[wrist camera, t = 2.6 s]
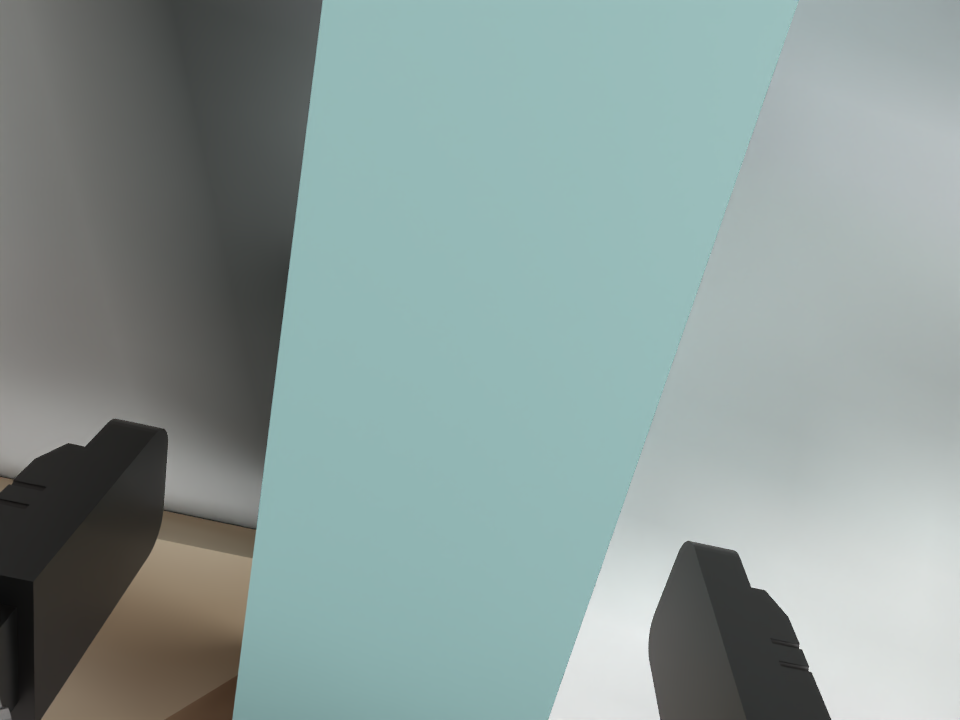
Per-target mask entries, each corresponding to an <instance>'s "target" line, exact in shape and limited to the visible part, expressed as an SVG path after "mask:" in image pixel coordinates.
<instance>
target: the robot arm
mask: <svg viewBox="0 0 960 720" xmlns="http://www.w3.org/2000/svg"><path fill="white" fill-rule="evenodd" d="M167 449H168V436H167V432H166V430H165V429H162V428H157V427H152V426H148V425H143V424H138V423H134V422H129V421H124V420H119V419H113V420H111V421H110V422H108V423H107V424H106V425H105V426H104V428H103V429H102V430H101V431H100V432H99V433H98V434H97V435H96V436H95V437H94V438H93V439H92V440H91V441H90V442H89V443H88V444H87V445H86V446H85V447H84V446H79V445H74V444H69V443H68V444H66V445H64V446H62V447H59V448H57V449H55V450H53V451H51V452H49V453H46V454H44V455H42V456H40V457H38V458H36V459H34V460H33V461H32V462H31V463H30V464H29V465H28V466H27V467H26V468H25V469H24V470H23V471H22V472H21V473H20V474H19V475H18V476H17V477H16V478H15V479H14V480H13V483H12V485H10V484H8V485H7V486H6V487H5V488H4V489H3V490H2V491H1V492H0V720H41V719H42V717H43V716H44V714H45V713H46V711H47V710H48V708H49V707H50V705H51V704H52V702H53V701H54V699H55V697H56V696H57V694H58V693H59V691H60V690H61V688H62V687H63V685H64V684H65V682H66V681H67V679H68V678H69V676H70V675H71V673H72V672H73V670H74V669H75V667H76V666H77V664H78V663H79V661H80V660H81V658H82V657H83V655H84V654H85V652H86V650H87V649H88V647H89V646H90V644H91V643H92V641H93V640H94V638H95V637H96V635H97V634H98V632H99V631H100V629H101V628H102V626H103V625H104V623H105V622H106V620H107V619H108V617H109V616H110V614H111V613H112V611H113V610H114V608H115V607H116V605H117V603H118V602H119V600H120V599H121V597H122V596H123V594H124V593H125V591H126V590H127V588H128V587H129V585H130V584H131V582H132V581H133V579H134V578H135V576H136V575H137V573H138V572H139V570H140V569H141V567H142V566H143V564H144V563H145V561H146V560H147V558H148V556H149V555H150V553H151V551H152V549H153V547H154V545H155V542H156V540H157V537H158V534H159V531H160V527H161V523H162V517H163V507H164V493H165V478H166V463H167ZM649 661H650V666H651V671H652V677H653V682H654V688H655V693H656V698H657V704H658V709H659V714H660V720H831V718H830V716H829V713H828V711H827V708H826V706H825V704H824V701H823V699H822V696H821V694H820V692H819V689H818V687H817V685H816V682H815V680H814V677H813V675H812V673H811V672H809V671H808V668H809V665H808V663H807V661H806V658H805V656H804V654H803V651H802V650H801V649H799V642H798V639H797V637H796V634H795V632H794V630H793V627H792V625H791V622H790V620H789V618H788V616H787V615H786V614H785V613H784V612H783V610H782V609H781V608H780V607H779V606H778V605H777V604H776V602H775V601H774V600H773V599H772V598H771V597H770V596H769V594H768V593H767V592H766V591H765V590H760V589H756V588H751V586H750V583H749V581H748V578H747V575H746V573H745V570H744V567H743V565H742V562H741V559H740V557H739V555H738V553H737V552H736V551H734V550H729V549H724V548H720V547H715V546H710V545H705V544H701V543H696V542H691V541H687V542H685V543H684V544H683V545H682V547H681V548H680V550H679V553H678V555H677V558H676V560H675V563H674V565H673V568H672V570H671V573H670V575H669V578H668V581H667V583H666V586H665V588H664V591H663V593H662V596H661V598H660V601H659V604H658V606H657V609H656V611H655V614H654V617H653V620H652V623H651V628H650V634H649Z"/></svg>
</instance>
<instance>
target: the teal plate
mask: <svg viewBox="0 0 960 720" xmlns="http://www.w3.org/2000/svg"><path fill="white" fill-rule="evenodd" d="M798 1H799V0H323V3H322V11H321V19H320V27H319V35H318V43H317V50H316V58H315V66H314V74H313V82H312V90H311V98H310V106H309V114H308V122H307V130H306V138H305V146H304V154H303V162H302V170H301V178H300V186H299V194H298V202H297V210H296V218H295V226H294V233H293V241H292V249H291V257H290V265H289V273H288V281H287V289H286V297H285V305H284V313H283V321H282V329H281V337H280V345H279V353H278V361H277V369H276V377H275V385H274V393H273V401H272V408H271V416H270V424H269V432H268V440H267V448H266V456H265V464H264V472H263V480H262V488H261V496H260V504H259V512H258V520H257V528H256V536H255V544H254V552H253V560H252V568H251V576H250V584H249V591H248V599H247V607H246V615H245V623H244V631H243V639H242V647H241V655H240V663H239V671H238V679H237V687H236V695H235V703H234V711H233V719H232V720H548V718H549V715H550V712H551V710H552V707H553V704H554V701H555V698H556V695H557V692H558V690H559V687H560V684H561V681H562V678H563V675H564V672H565V669H566V667H567V664H568V661H569V658H570V655H571V652H572V649H573V646H574V644H575V641H576V638H577V635H578V632H579V629H580V626H581V624H582V621H583V618H584V615H585V612H586V609H587V606H588V603H589V601H590V598H591V595H592V592H593V589H594V586H595V583H596V581H597V578H598V575H599V572H600V569H601V566H602V563H603V560H604V558H605V555H606V552H607V549H608V546H609V543H610V540H611V538H612V535H613V532H614V529H615V526H616V523H617V520H618V517H619V515H620V512H621V509H622V506H623V503H624V500H625V497H626V494H627V492H628V489H629V486H630V483H631V480H632V477H633V474H634V472H635V469H636V466H637V463H638V460H639V457H640V454H641V451H642V449H643V446H644V443H645V440H646V437H647V434H648V431H649V429H650V426H651V423H652V420H653V417H654V414H655V411H656V408H657V406H658V403H659V400H660V397H661V394H662V391H663V388H664V386H665V383H666V380H667V377H668V374H669V371H670V368H671V365H672V363H673V360H674V357H675V354H676V351H677V348H678V345H679V342H680V340H681V337H682V334H683V331H684V328H685V325H686V322H687V320H688V317H689V314H690V311H691V308H692V305H693V302H694V299H695V297H696V294H697V291H698V288H699V285H700V282H701V279H702V277H703V274H704V271H705V268H706V265H707V262H708V259H709V256H710V254H711V251H712V248H713V245H714V242H715V239H716V236H717V234H718V231H719V228H720V225H721V222H722V219H723V216H724V213H725V211H726V208H727V205H728V202H729V199H730V196H731V193H732V190H733V188H734V185H735V182H736V179H737V176H738V173H739V170H740V168H741V165H742V162H743V159H744V156H745V153H746V150H747V147H748V145H749V142H750V139H751V136H752V133H753V130H754V127H755V125H756V122H757V119H758V116H759V113H760V110H761V107H762V104H763V102H764V99H765V96H766V93H767V90H768V87H769V84H770V82H771V79H772V76H773V73H774V70H775V67H776V64H777V61H778V59H779V56H780V53H781V50H782V47H783V44H784V41H785V39H786V36H787V33H788V30H789V27H790V24H791V21H792V18H793V16H794V13H795V10H796V7H797V4H798Z"/></svg>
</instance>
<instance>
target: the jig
mask: <svg viewBox="0 0 960 720" xmlns="http://www.w3.org/2000/svg"><path fill="white" fill-rule="evenodd" d="M12 483H13V479H8V478H4V477H0V492H1V491H2V490H3V489H4V488H5V487H6V486H7V485H8V484H10V485H12ZM255 536H256V530H254V529H250V528H245V527H240V526H235V525H230V524H225V523H221V522H216V521H211V520H206V519H201V518H197V517H192V516H187V515H182V514H177V513H172V512H168V511H163V517H162V523H161V527H160V531H159V534H158V537H157V540H156V542H155V545H154V547H153V549H152V551H151V553H150V555H149V556H148V558H147V560H146V561H145V563H144V564H143V566H142V567H141V569H140V570H139V572H138V573H137V575H136V576H135V578H134V579H133V581H132V582H131V584H130V585H129V587H128V588H127V590H126V591H125V593H124V594H123V596H122V597H121V599H120V600H119V602H118V603H117V605H116V607H115V608H114V610H113V611H112V613H111V614H110V616H109V617H108V619H107V620H106V622H105V623H104V625H103V626H102V628H101V629H100V631H99V632H98V634H97V635H96V637H95V638H94V640H93V641H92V643H91V644H90V646H89V647H88V649H87V650H86V652H85V654H84V655H83V657H82V658H81V660H80V661H79V663H78V664H77V666H76V667H75V669H74V670H73V672H72V673H71V675H70V676H69V678H68V679H67V681H66V682H65V684H64V685H63V687H62V688H61V690H60V691H59V693H58V694H57V696H56V697H55V699H54V701H53V702H52V704H51V705H50V707H49V708H48V710H47V711H46V713H45V714H44V716H43V717H42V719H41V720H232V719H233V711H234V703H235V695H236V687H237V679H238V671H239V663H240V655H241V647H242V639H243V631H244V623H245V615H246V607H247V599H248V591H249V584H250V576H251V568H252V560H253V552H254V544H255Z"/></svg>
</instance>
